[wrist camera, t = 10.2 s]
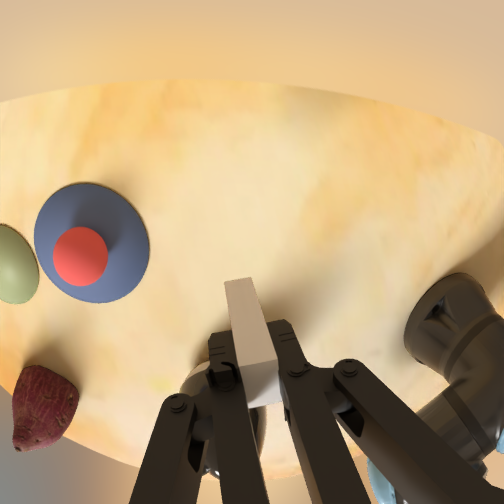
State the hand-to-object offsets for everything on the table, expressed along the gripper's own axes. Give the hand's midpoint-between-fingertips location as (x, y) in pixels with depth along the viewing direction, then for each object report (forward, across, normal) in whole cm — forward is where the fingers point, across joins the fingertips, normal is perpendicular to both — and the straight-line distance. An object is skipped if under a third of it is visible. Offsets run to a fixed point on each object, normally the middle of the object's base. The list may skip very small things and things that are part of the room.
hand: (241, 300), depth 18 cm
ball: (+11, +14, 0) cm, 18 cm away
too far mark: (+14, +26, 0) cm, 29 cm away
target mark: (+14, +14, 0) cm, 20 cm away
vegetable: (+14, +30, +20) cm, 39 cm away
